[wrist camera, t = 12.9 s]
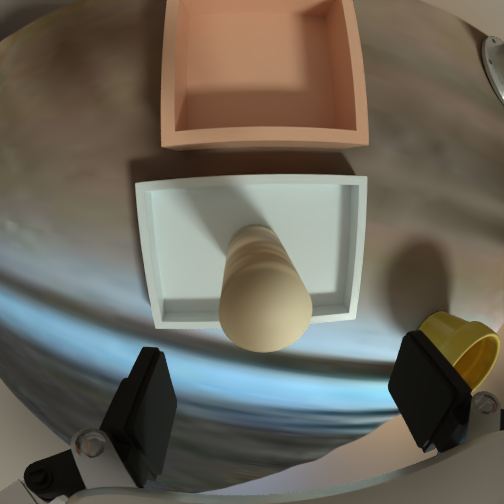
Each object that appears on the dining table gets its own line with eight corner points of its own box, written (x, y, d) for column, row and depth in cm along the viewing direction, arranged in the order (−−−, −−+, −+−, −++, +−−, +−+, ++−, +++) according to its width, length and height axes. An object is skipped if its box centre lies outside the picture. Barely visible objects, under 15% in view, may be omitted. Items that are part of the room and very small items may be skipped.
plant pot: (449, 281, 29) (498, 315, 20) (464, 327, 32) (502, 362, 22) (391, 334, 31) (429, 383, 21) (414, 373, 33) (445, 416, 24)
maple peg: (281, 223, 26) (315, 267, 14) (281, 274, 27) (309, 348, 15) (226, 225, 25) (215, 271, 14) (228, 277, 27) (222, 353, 15)
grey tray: (356, 175, 25) (367, 176, 23) (347, 307, 29) (355, 318, 27) (144, 181, 24) (135, 183, 22) (161, 316, 28) (155, 328, 26)
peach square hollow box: (330, 16, 20) (349, -12, 14) (341, 148, 24) (368, 145, 19) (181, 14, 19) (168, -16, 14) (179, 151, 24) (161, 146, 18)
